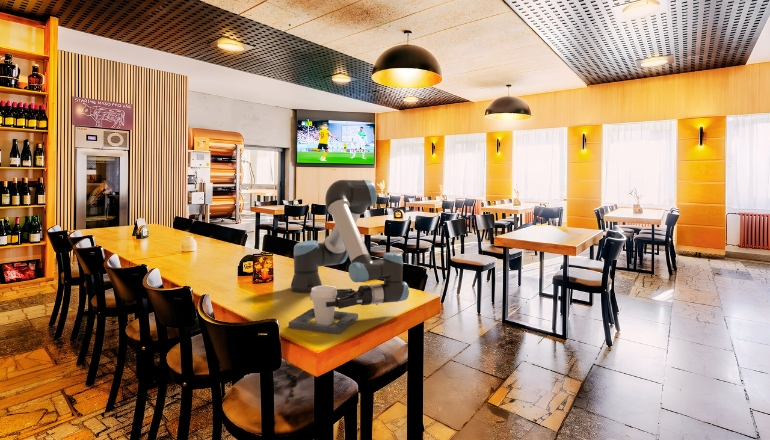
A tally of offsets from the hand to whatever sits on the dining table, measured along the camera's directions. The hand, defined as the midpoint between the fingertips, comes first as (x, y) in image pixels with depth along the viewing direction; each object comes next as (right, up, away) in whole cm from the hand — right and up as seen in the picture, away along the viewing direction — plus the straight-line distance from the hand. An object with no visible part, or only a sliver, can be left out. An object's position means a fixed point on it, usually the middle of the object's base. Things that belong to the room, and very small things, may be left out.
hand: (313, 300), depth 146 cm
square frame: (+4, -9, +2) cm, 10 cm away
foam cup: (+4, -9, +2) cm, 10 cm away
